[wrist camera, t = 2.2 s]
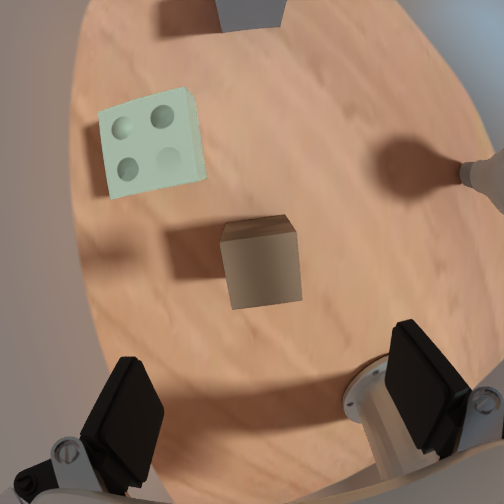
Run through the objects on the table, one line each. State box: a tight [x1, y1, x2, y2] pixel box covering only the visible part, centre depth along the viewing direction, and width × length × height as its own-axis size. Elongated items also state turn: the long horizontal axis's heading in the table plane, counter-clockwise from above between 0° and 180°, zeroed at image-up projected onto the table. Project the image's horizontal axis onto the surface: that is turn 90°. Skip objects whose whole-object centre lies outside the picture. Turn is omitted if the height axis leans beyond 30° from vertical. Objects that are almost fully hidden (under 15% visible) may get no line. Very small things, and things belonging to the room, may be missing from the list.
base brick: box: [98, 87, 207, 199], centre depth 20 cm, size 7×7×4 cm
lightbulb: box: [459, 149, 504, 215], centre depth 17 cm, size 6×6×11 cm
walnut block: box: [219, 215, 302, 310], centre depth 22 cm, size 5×5×6 cm
